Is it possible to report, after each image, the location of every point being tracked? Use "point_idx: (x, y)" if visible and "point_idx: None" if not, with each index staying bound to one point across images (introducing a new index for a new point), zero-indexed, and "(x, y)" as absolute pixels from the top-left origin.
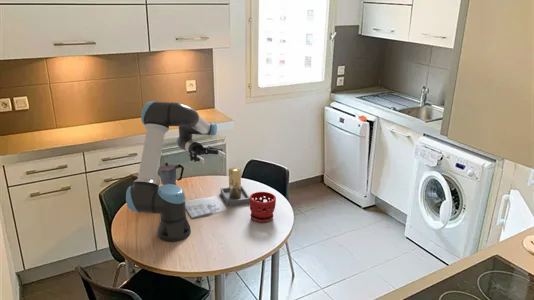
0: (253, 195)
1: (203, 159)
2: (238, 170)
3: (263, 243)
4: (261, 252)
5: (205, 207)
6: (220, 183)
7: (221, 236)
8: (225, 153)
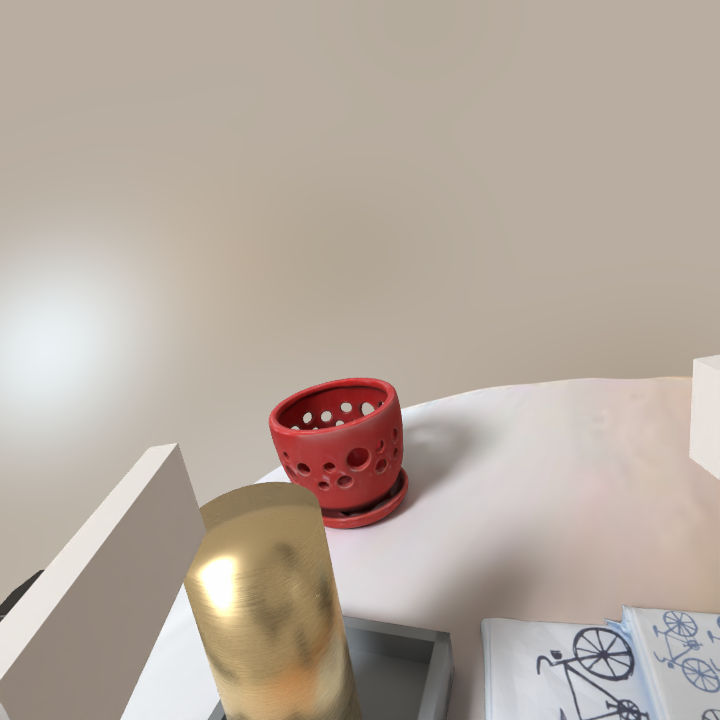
0: (346, 435)
1: (711, 364)
2: (235, 498)
3: (452, 412)
4: (479, 393)
5: (671, 705)
6: None
7: (589, 457)
8: (146, 451)
